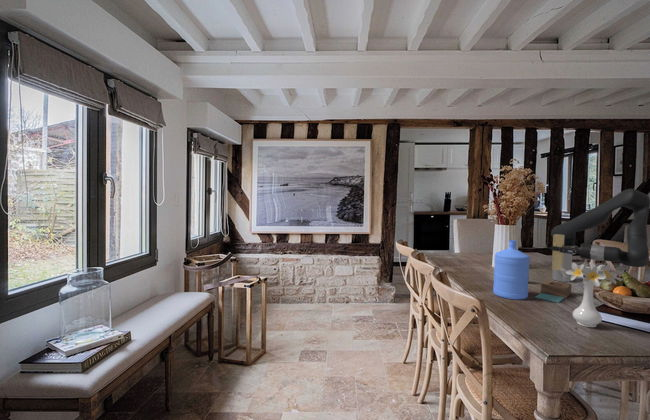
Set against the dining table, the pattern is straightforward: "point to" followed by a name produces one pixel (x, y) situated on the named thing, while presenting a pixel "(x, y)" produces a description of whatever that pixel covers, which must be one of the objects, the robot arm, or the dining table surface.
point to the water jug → (511, 273)
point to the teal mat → (549, 297)
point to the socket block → (556, 288)
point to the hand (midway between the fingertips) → (552, 247)
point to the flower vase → (588, 291)
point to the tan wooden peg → (557, 252)
